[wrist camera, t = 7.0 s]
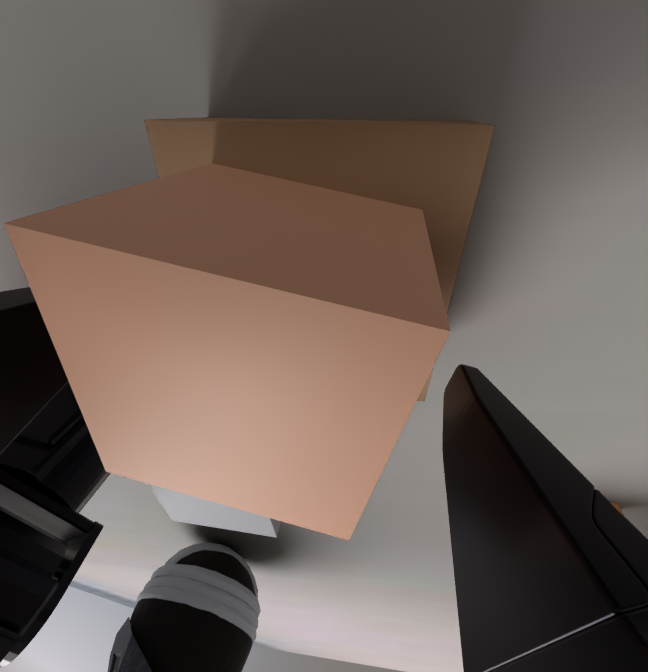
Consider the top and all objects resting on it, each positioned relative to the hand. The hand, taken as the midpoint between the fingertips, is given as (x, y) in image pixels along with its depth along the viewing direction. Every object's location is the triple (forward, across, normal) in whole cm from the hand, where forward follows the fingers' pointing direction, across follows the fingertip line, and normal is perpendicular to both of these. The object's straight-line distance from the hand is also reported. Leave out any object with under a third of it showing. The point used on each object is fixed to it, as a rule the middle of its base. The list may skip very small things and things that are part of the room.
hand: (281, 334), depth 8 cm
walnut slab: (+7, 0, 0) cm, 7 cm away
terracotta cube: (+3, 0, 0) cm, 3 cm away
